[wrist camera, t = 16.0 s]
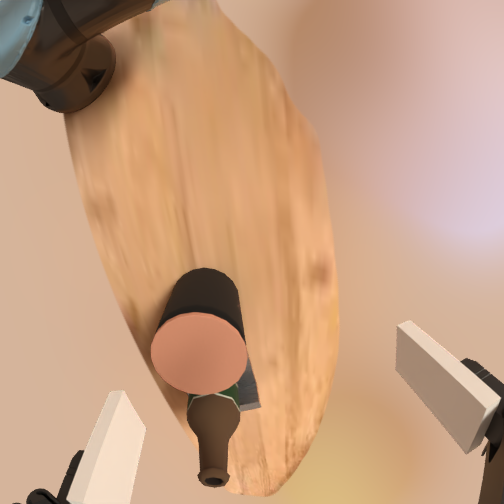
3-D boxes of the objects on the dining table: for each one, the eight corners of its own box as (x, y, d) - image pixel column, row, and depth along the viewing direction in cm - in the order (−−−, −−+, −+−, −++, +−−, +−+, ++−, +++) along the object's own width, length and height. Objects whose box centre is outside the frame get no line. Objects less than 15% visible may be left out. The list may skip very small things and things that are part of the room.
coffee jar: (214, 337, 49) (213, 408, 32) (161, 303, 47) (134, 365, 30) (252, 289, 48) (268, 348, 31) (196, 252, 46) (181, 295, 28)
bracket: (168, 343, 49) (162, 364, 43) (241, 328, 50) (243, 348, 43) (191, 397, 52) (189, 420, 46) (257, 385, 53) (261, 407, 46)
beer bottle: (236, 387, 51) (246, 495, 27) (193, 386, 50) (184, 495, 27) (236, 352, 49) (248, 464, 26) (190, 352, 48) (175, 463, 25)
